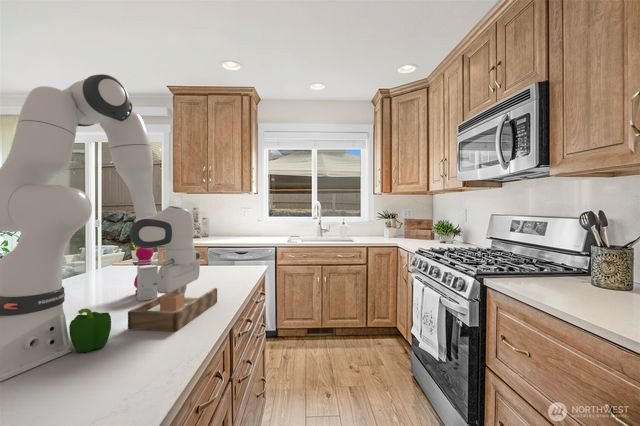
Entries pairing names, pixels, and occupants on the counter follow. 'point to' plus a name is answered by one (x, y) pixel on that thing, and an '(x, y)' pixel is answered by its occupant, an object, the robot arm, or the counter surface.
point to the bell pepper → (89, 330)
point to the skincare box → (147, 282)
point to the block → (171, 301)
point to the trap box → (169, 313)
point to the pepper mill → (143, 259)
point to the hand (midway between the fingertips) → (179, 300)
